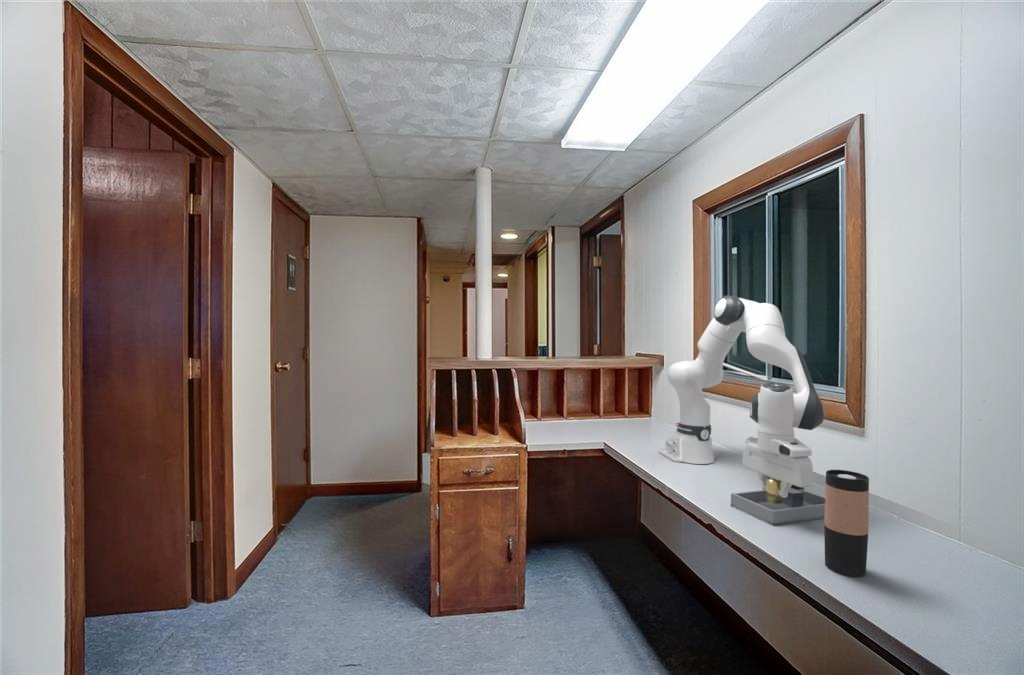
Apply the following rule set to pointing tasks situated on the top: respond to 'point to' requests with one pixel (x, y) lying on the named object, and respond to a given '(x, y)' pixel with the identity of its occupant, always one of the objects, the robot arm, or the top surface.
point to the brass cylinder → (773, 490)
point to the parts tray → (779, 507)
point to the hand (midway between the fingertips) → (774, 493)
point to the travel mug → (846, 522)
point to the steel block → (794, 498)
